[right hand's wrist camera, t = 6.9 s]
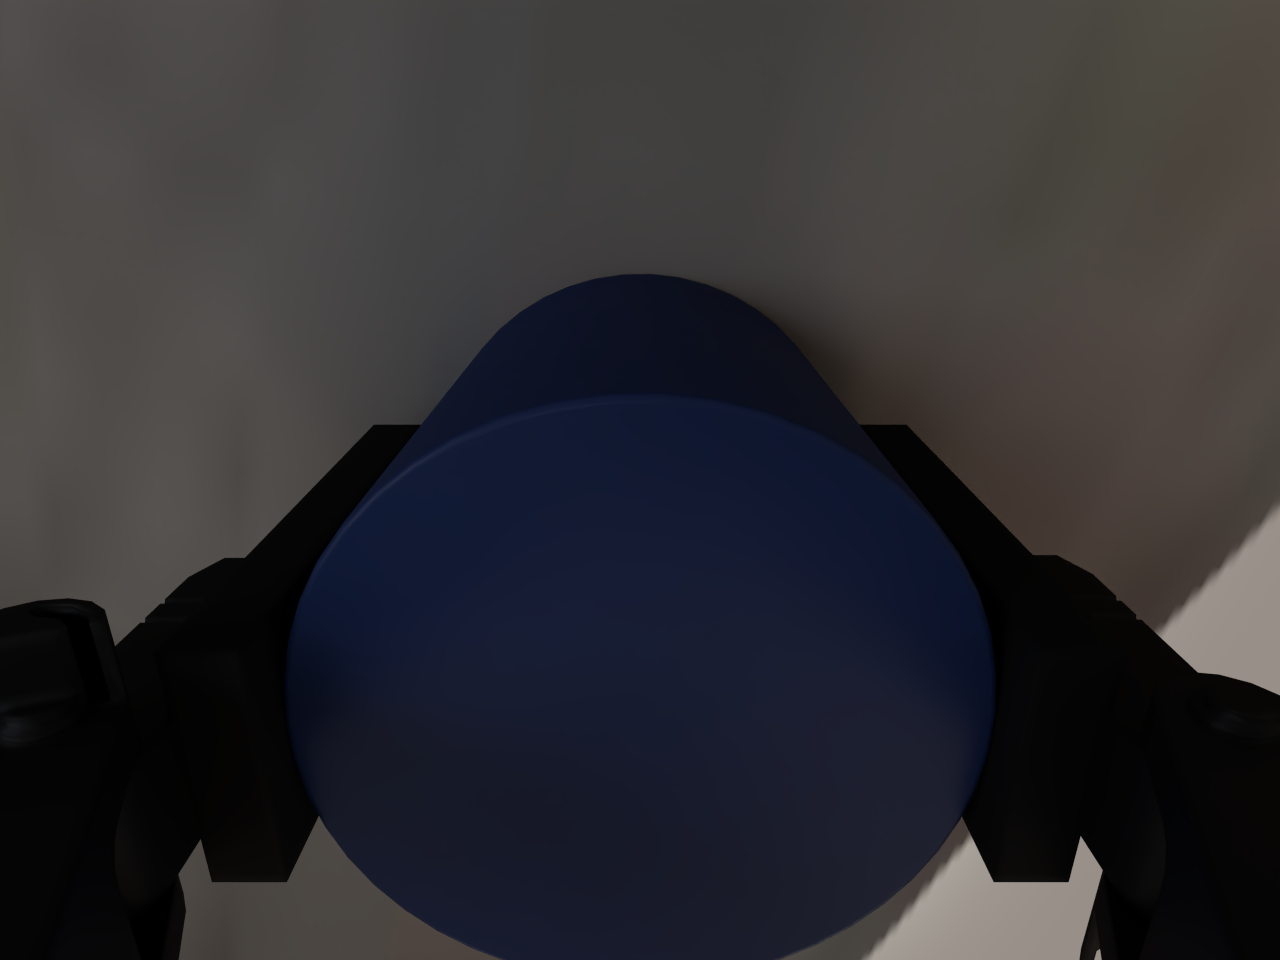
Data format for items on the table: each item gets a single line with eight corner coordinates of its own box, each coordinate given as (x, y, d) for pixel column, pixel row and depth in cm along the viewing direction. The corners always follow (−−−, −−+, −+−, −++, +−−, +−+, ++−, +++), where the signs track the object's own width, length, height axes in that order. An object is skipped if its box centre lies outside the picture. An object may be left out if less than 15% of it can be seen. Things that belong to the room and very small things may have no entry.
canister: (377, 356, 14) (137, 543, 7) (773, 211, 13) (911, 273, 7) (533, 681, 17) (460, 1043, 10) (876, 577, 16) (1055, 897, 9)
